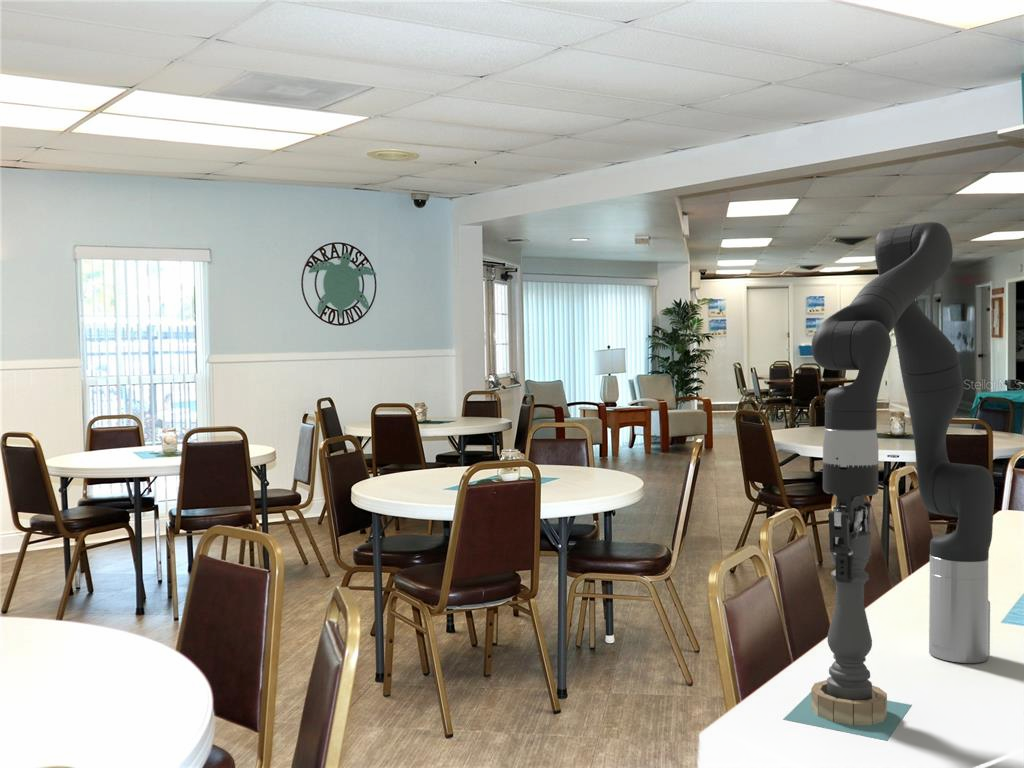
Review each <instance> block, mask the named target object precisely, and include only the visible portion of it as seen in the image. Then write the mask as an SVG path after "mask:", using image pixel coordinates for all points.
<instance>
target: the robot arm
mask: <svg viewBox="0 0 1024 768" xmlns="http://www.w3.org/2000/svg"><path fill="white" fill-rule="evenodd" d="M953 250H954V249H953V241H952V239H951V235H950V232H949V230H948V229H947V228H946V226H945V225H943V224H942V223H939V222H936V221H935V222H934V221H927V222H926V221H925V222H920V223H919V222H918V223H915V224H909V225H902V226H896V227H891V228H886V229H882V230H881V231H880V232H878V233H877V235H876V238H875V242H874V258H875V264H876V269H877V272H878V276H877V277H875V278H874V279H872V280H871V281H869V282H868V283H867V284H866V285H864V286H863V287H862V289H860V291H859V292H858V294H857V295H855V297H854V298H853V300H852V301H851V303H850V304H849V305H846V306H845V307H843V308H841V309H839V310H838V311H836V312H835V313H833V314H832V315H830V316H828V318H826V319H825V320H824V321H822V322H821V323H820V325H819V326H818V327H817V329H816V330H815V332H814V333H813V337H812V340H811V346H810V347H811V354H812V357H813V359H814V361H815V363H816V364H817V365H818V366H820V367H822V368H823V369H825V370H831V371H858V373H857V376H856V377H855V379H854V380H853V382H852V383H851V384H847V385H844V386H843V385H842V386H838V387H833V388H831V389H828V391H827V392H826V394H825V397H824V433H823V434H824V435H823V443H822V490H823V492H824V493H826V494H829V495H834V496H835V497H836V499H835V500H836V501H835V506H833V508H832V510H830V511H828V515H827V517H828V530H829V531H828V532H829V553H830V552H832V553H834V555H836V566H835V569H836V580H837V581H838V582H844V583H850V582H851V581H852V580H853V554H854V542H855V541H857V540H858V538H859V530H860V531H868V532H870V522H871V521H870V518H871V517H870V516H871V507H872V506H871V505H872V504H871V501H870V500H865V497H871V496H875V495H877V494H878V492H879V442H878V441H879V440H878V430H877V426H878V425H877V424H878V423H877V422H878V421H877V417H878V416H877V413H878V409H877V408H878V407H877V406H878V398H879V393H880V388H881V385H882V384H881V383H882V379H883V377H884V372H885V369H886V367H887V363H888V360H889V356H890V352H891V346H892V339H891V336H890V334H891V332H892V331H893V333H894V337H895V338H894V339H895V343H896V347H897V349H896V350H897V355H898V361H899V362H898V363H899V368H900V373H901V378H902V384H903V389H904V392H905V397H906V401H907V406H908V410H909V411H908V412H909V416H910V422H911V427H912V428H911V429H912V435H913V440H914V441H913V442H914V450H915V451H914V452H915V465H916V474H917V475H916V476H917V485H918V492H919V496H920V499H921V502H922V504H923V506H924V508H925V509H926V510H927V511H928V512H930V513H933V514H934V515H940V516H941V515H942V516H946V517H954V518H957V526H956V528H955V530H953V531H952V532H950V533H946V534H941V535H937V536H933V537H932V539H931V540H930V541H929V595H928V596H929V603H928V605H929V607H928V609H929V610H928V611H929V612H928V614H929V617H928V619H929V620H928V621H929V622H928V624H929V626H928V653H929V654H930V655H931V656H932V657H935V658H938V659H940V660H944V661H949V662H954V663H961V664H979V663H983V662H986V661H987V660H988V658H989V656H990V655H991V653H990V651H991V602H990V600H989V557H990V553H989V552H990V548H991V543H992V539H993V526H994V525H993V523H994V511H995V510H994V508H995V496H996V495H995V492H996V491H995V483H994V482H995V481H994V479H993V476H992V474H991V472H990V471H989V469H988V468H986V467H984V466H982V465H976V464H969V463H968V464H966V463H957V462H956V463H954V462H951V461H950V460H949V457H948V451H947V432H948V429H949V427H950V424H951V422H952V420H953V418H954V416H955V413H956V412H957V410H958V408H959V405H960V403H961V401H962V399H963V395H964V385H965V384H964V380H963V374H962V368H961V362H960V357H959V353H958V350H957V349H956V347H955V346H954V344H953V343H952V341H950V338H948V337H947V336H946V335H945V333H944V332H943V331H941V329H940V328H939V327H938V326H937V325H936V324H935V323H934V322H933V321H932V320H931V319H930V318H929V317H928V316H927V315H926V314H925V313H924V311H923V310H922V308H921V307H920V305H919V304H918V302H917V300H916V299H918V298H919V296H921V295H922V294H923V293H924V292H925V291H927V290H928V289H929V288H930V287H931V286H932V285H933V284H934V283H936V282H937V281H938V280H939V279H941V278H942V277H943V276H944V275H945V274H946V273H947V272H948V271H949V269H950V266H951V264H952V261H953V255H954V253H953ZM840 539H844V545H840Z"/></svg>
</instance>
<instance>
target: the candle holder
mask: <svg viewBox="0 0 1024 768" xmlns="http://www.w3.org/2000/svg"><path fill="white" fill-rule="evenodd" d="M840 545H844V539H840ZM829 554H830V555H831V561H832V562H833V564H834V567H836V555H834V553H832V552H830V551H829ZM871 555H872V533H871V532H870V531H869V532H868V531H860V530H859V538H858V540H857V541H855V542H854V554H853V580H852V581H851V582H850V583H844V582H838V581H837V580H836V568H835V569H833V570H832V571H831V573H830V578H831V579H833V580H834V582H835V604H834V608H833V613H832V617H831V620H830V625H829V628H828V632H827V644H828V647H829V649H830V651H831V652H832V653H833V657H832V658H833V659H834V660H835V661H834V662H833V663H832V664H831V666H829V668H828V674H829V676H828V677H827V679H826V680H827V695H830V696H832V697H835V698H839V699H845V700H852V701H856V700H870V699H872V685H873V682H872V681H870V680H869V679H870V678H871V672H870V670H869V669H868V667H867V666H866V664H865V662H866V661H867V659H866V658H867V657H866V656H868V654H869V653H870V651H871V650H872V646H873V638H872V634H871V631H870V626H869V621H868V617H867V613H866V609H865V595H864V594H865V585H866V582H868V581H869V580H870V575H869V573H868V572H866V571H865V568H867V567H866V566H867V564H868V563H869V561H870V559H869V558H870V557H871Z"/></svg>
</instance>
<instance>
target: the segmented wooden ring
mask: <svg viewBox="0 0 1024 768" xmlns="http://www.w3.org/2000/svg"><path fill="white" fill-rule="evenodd" d="M810 692H811V709H812V710H813V711H814V712H815V713H816V714H817V716H819V717H822V718H825V719H827V720H830V721H834V722H838V723H844V724H850V725H873V724H876V723H880V722H883V721H885V718H886V716H887V700H888V694H887V692H886V691H884V690H883V689H881V688H880V687H878V686H876V685H873V684H872V699H870V700H856V701H852V700H845V699H839V698H835V697H832V696H830V695H827V679H825V680H822V681H818V682H817V681H816V682H815V683H813V685H812V687H811V691H810Z"/></svg>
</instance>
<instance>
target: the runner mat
mask: <svg viewBox="0 0 1024 768" xmlns="http://www.w3.org/2000/svg"><path fill="white" fill-rule="evenodd" d="M912 705H913V704H909V703H903V702H897V701H892V700H888V699H887V716H886V718H885V721H883V722H880V723H876V724H873V725H850V724H844V723H838V722H834V721H830V720H827V719H825V718H822V717H819V716H817V714H816V713H815V712H814V711H813V710H812V709H811V691H810V692H809V693H808V694H807V696H805V697H804V698H803V699H802V700H801V701H800V702H799V703H798V704H797V705H795V707H794V708H793V709H791V711H790V712H789V713H788V714H786V716H785V717H783V719H782V720H784V721H789V722H794V723H799V724H803V725H808V726H812V727H817V728H822V729H827V730H832V731H838V732H841V733H842V732H843V733H848V734H851V735H856V736H862V737H866V738H871V739H872V738H873V739H877V740H882V741H886V742H887V741H888V740H889V739H890V737H892V735H893V733H894V732H895V730H896V729H897V727H898V726H899V725H900V723H901V721H902V720H903V719H904V718H905V715H906V714H907V713H908V712H909V710H910V709H911V707H912Z"/></svg>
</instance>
